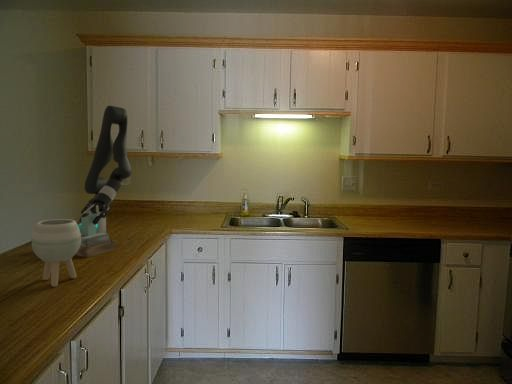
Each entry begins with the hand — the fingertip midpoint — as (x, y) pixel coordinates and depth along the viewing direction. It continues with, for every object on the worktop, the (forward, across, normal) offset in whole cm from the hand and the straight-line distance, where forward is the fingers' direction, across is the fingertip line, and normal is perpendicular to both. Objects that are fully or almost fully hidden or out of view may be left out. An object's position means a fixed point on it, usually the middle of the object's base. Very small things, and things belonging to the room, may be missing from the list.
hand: (87, 222), depth 185 cm
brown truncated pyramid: (+9, 0, +10) cm, 14 cm away
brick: (+4, 0, +5) cm, 6 cm away
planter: (+36, +25, -16) cm, 46 cm away
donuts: (0, -15, +20) cm, 25 cm away
